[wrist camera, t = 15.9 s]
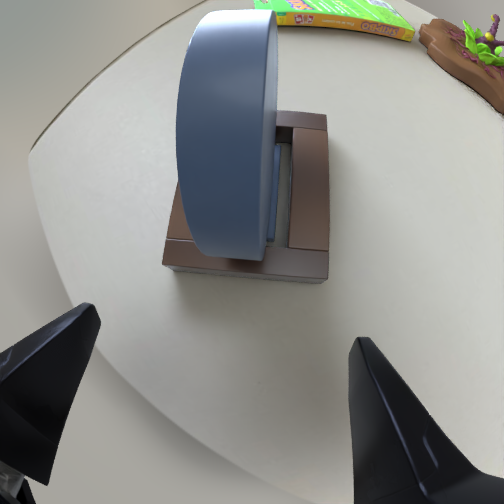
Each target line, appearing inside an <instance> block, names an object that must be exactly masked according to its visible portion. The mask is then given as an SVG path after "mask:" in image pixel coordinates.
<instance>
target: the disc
mask: <svg viewBox="0 0 504 504" xmlns="http://www.w3.org/2000/svg"><path fill="white" fill-rule="evenodd" d="M277 87H278V35H277V20H276V13H275V11H274V10H265V9H251V10H226V11H214V12H212V13H209V14H207V15H206V16H205V17H204V18H203V19H202V20H201V22H200V23H199V25H198V26H197V28H196V30H195V32H194V34H193V36H192V38H191V40H190V43H189V46H188V49H187V52H186V55H185V59H184V64H183V68H182V73H181V78H180V85H179V92H178V100H177V115H176V158H177V170H178V181H179V187H180V194H181V200H182V205H183V209H184V213H185V218H186V222H187V225H188V228H189V230H190V233H191V236H192V238H193V240H194V242H195V244H196V246H197V247H198V249H199V250H200V251H201V252H202V253H203V254H205V255H206V256H212V257H223V258H235V259H246V260H258V261H262V260H263V257H264V254H265V248H266V242H267V241H268V242H274V237H275V225H276V212H277V199H278V185H279V170H280V155H281V146H280V145H275V137H276V116H277Z"/></svg>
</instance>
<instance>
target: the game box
mask: <svg viewBox="0 0 504 504" xmlns="http://www.w3.org/2000/svg"><path fill="white" fill-rule="evenodd" d="M266 2H267V3H262V1H261V0H254V4H255V9H265V10H274V11H275V13H276V20H277V25H303V26H320V27H332V28H341V29H349V30H357V31H363V32H368V33H374V34H379V35H384V36H389V37H393V38H398V39H402V40H406V41H410V42H411V40H412V38H413V35H414V33H415V30H414V29H413V28H412V27H411V26H410V25H409V24H408V23H407V22H406V20H405V19H404V18H403V17H402V16H401V15H400V14H399V13H398V12H397V11H396V10H395V9H394V8H393V7H392V6H390V5H389V4H388V3H387V2H383V1H379V0H266Z"/></svg>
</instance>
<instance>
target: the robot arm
mask: <svg viewBox="0 0 504 504" xmlns="http://www.w3.org/2000/svg"><path fill="white" fill-rule="evenodd" d="M100 326H101V320H100V318H99V315H98V313H97V310H96V308H95V306H94V305H93V304H90V303H82V304H80V305H78V306H77V307H75V308H73V309H72V310H70V311H68V312H67V313H65V314H63V315H62V316H60V317H58V318H56V319H55V320H53V321H51V322H50V323H48V324H47V325H45V326H43V327H42V328H40V329H38V330H37V331H35V332H33V333H32V334H30V335H29V336H27V337H25V338H24V339H22V340H21V341H19V342H17V343H16V344H14V346H11V347H10V348H8V349H6V350H5V351H3V352H2V353H0V504H36V503H35V500H34V498H33V495H32V492H31V489H30V487H29V484H28V481H27V480H26V479H25V478H24V477H25V475H26V476H28V477H30V478H31V479H33V480H35V481H37V482H40V483H42V484H44V485H46V486H47V485H48V483H49V479H50V475H51V470H52V467H53V463H54V459H55V456H56V452H57V449H58V445H59V441H60V438H61V435H62V432H63V429H64V426H65V422H66V419H67V417H68V414H69V411H70V408H71V405H72V403H73V400H74V397H75V394H76V392H77V389H78V387H79V384H80V381H81V379H82V377H83V374H84V372H85V369H86V367H87V364H88V362H89V359H90V356H91V353H92V350H93V347H94V344H95V341H96V338H97V335H98V332H99V329H100ZM348 361H349V391H348V400H349V412H350V424H351V437H352V452H353V475H354V504H504V478H500V477H496V476H492V475H488V474H485V473H483V472H481V471H480V470H478V469H477V468H476V467H474V466H473V465H472V464H471V462H470V461H469V460H468V459H467V458H466V457H465V456H464V455H463V454H462V453H461V451H460V450H459V449H458V448H457V447H456V446H455V445H454V444H453V443H452V442H451V440H450V439H449V438H448V437H447V436H446V435H445V434H444V432H443V431H442V430H441V428H440V427H439V426H438V425H437V423H436V422H435V421H434V419H433V418H432V417H431V415H429V413H428V411H427V410H426V409H425V407H424V406H423V405H422V403H421V402H420V401H419V399H418V398H417V397H416V395H415V394H414V393H413V392H412V390H411V389H410V388H409V386H408V385H407V384H406V383H405V381H404V380H403V379H402V377H401V376H400V375H399V374H398V372H397V371H396V370H395V369H394V367H393V366H392V365H391V363H390V362H389V361H388V360H387V358H386V357H385V356H384V355H383V353H382V352H381V351H380V350H379V349H378V347H377V346H376V345H375V344H374V342H373V341H372V340H371V339H370V338H369V337H357V338H356V339H355V341H354V344H353V346H352V348H351V351H350V353H349V359H348Z"/></svg>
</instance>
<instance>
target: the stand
mask: <svg viewBox="0 0 504 504" xmlns="http://www.w3.org/2000/svg"><path fill="white" fill-rule="evenodd" d="M275 142H286V143H292V149H291V173H290V194H289V212H288V228H287V243H286V248H279V247H267V246H266V248H265V254H264V257H263V260H262V261H258V260H246V259H235V258H223V257H212V256H206V255H205V254H203V253H202V252H201V251H200V250H199V249H198V247H197V246H196V244H195V242H194V240H193V238H192V236H191V233H190V230H189V228H188V225H187V222H186V218H185V213H184V209H183V205H182V200H181V194H180V187H179V181H178V183H177V187H176V192H175V196H174V201H173V206H172V211H171V216H170V221H169V226H168V231H167V237H166V238H167V239H166V242H165V248H164V254H163V260H162V265H164V266H166V267H168V268H170V269H172V270H175V271H184V272H194V273H203V274H213V275H224V276H234V277H245V278H256V279H268V280H280V281H292V282H305V283H319V284H321V283H323V282H324V281H326V280H327V279H328V268H329V252H328V251H329V233H330V184H329V152H328V133H327V117H326V115H324V114H316V113H306V112H295V111H282V110H277V116H276V137H275Z"/></svg>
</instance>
